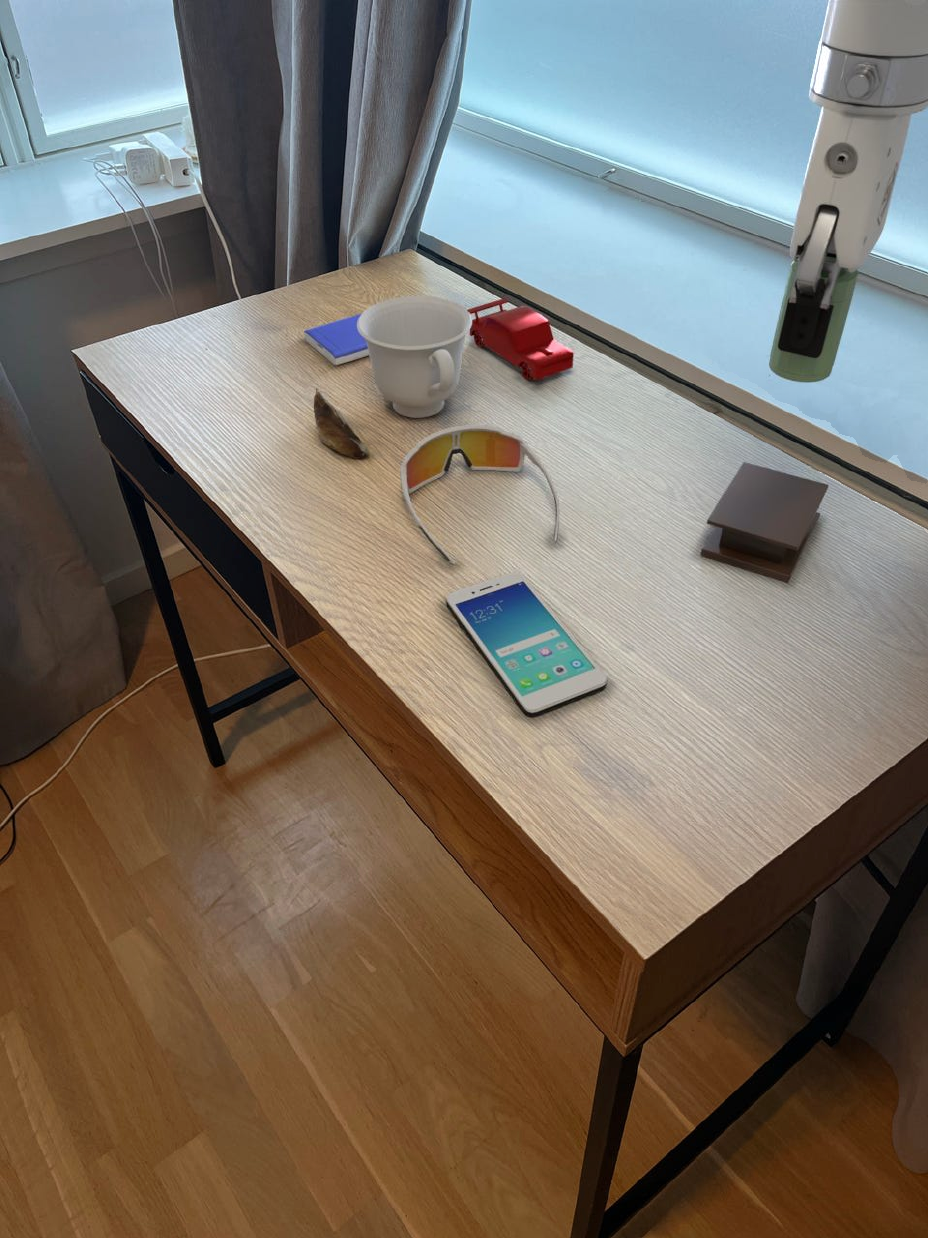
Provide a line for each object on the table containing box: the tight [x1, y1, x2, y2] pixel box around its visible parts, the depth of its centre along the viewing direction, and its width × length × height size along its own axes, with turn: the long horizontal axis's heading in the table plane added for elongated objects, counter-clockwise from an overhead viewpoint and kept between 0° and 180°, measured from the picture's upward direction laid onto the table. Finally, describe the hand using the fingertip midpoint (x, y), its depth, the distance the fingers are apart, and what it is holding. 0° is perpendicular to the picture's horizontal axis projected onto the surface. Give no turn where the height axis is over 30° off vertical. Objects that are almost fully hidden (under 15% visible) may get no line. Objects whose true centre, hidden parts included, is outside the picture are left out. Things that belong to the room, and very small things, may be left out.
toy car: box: [466, 297, 575, 381], centre depth 113 cm, size 14×6×5 cm, turn 34°
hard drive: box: [303, 313, 369, 366], centre depth 118 cm, size 2×8×12 cm
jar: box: [768, 256, 860, 384], centre depth 74 cm, size 5×5×8 cm
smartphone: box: [445, 571, 608, 718], centre depth 79 cm, size 8×1×15 cm
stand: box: [700, 461, 830, 584], centre depth 88 cm, size 8×10×4 cm
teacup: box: [357, 295, 473, 419], centre depth 103 cm, size 12×15×10 cm
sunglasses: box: [399, 424, 560, 565], centre depth 92 cm, size 14×15×5 cm
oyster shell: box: [313, 387, 370, 459], centre depth 101 cm, size 6×4×10 cm
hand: (809, 334), depth 75 cm, fingers closed on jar, 4 cm apart
